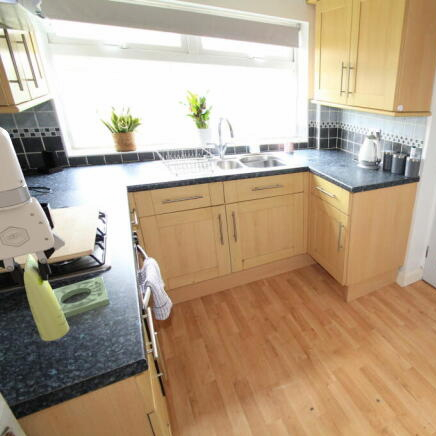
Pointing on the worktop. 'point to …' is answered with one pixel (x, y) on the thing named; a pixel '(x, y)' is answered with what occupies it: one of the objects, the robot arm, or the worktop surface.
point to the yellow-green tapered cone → (43, 303)
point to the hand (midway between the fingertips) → (34, 279)
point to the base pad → (89, 303)
